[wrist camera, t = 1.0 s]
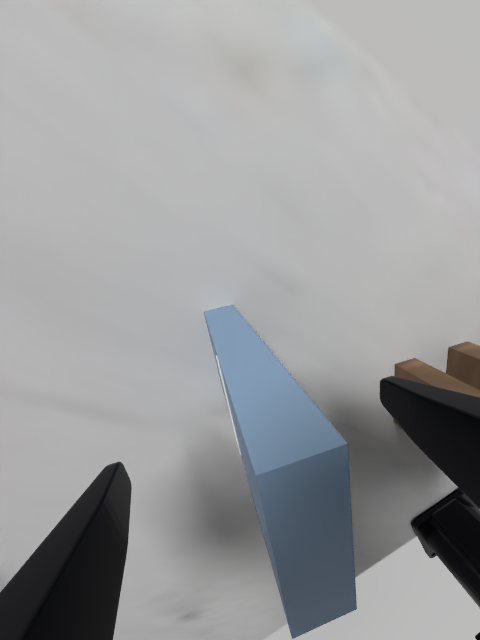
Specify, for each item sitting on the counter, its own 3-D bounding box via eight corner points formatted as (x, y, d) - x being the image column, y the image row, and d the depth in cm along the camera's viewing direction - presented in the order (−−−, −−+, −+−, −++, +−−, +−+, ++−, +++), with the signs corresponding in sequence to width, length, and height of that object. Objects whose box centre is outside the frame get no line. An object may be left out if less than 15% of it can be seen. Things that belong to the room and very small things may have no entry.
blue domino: (233, 304, 13) (350, 442, 4) (249, 382, 15) (358, 608, 6) (202, 312, 13) (252, 477, 4) (222, 390, 15) (290, 640, 6)
